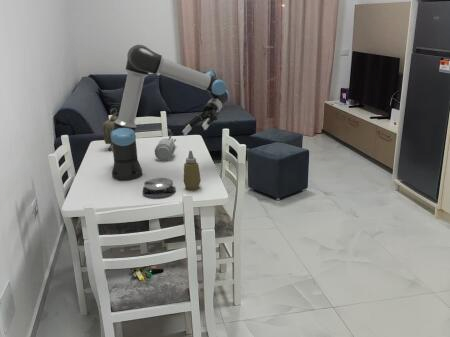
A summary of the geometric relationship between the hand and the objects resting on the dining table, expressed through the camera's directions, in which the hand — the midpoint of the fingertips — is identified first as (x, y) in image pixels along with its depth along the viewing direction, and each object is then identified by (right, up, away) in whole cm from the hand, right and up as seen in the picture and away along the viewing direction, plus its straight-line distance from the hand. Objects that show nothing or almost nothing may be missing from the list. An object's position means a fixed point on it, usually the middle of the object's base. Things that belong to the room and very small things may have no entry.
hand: (193, 130), depth 214 cm
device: (-18, -10, +40) cm, 45 cm away
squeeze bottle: (0, -28, -12) cm, 31 cm away
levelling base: (-15, -30, -16) cm, 37 cm away
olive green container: (-51, -7, +53) cm, 73 cm away
